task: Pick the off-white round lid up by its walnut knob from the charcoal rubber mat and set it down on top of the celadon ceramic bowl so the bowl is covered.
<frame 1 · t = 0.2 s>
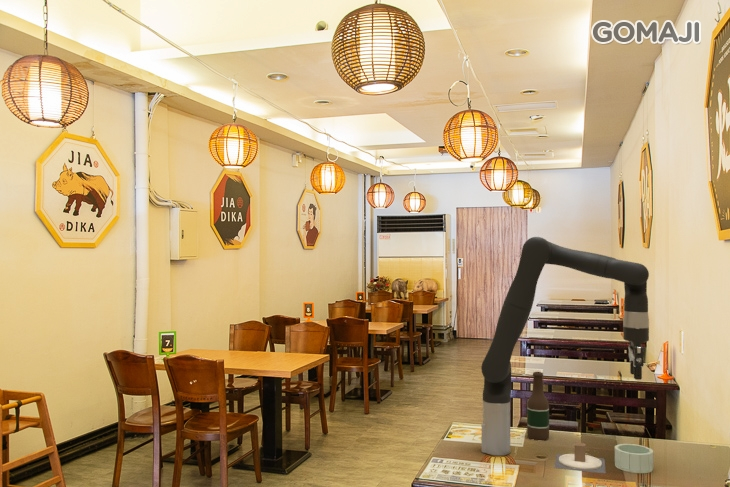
hand: (635, 376, 200), 28 cm above the table, fingers open, 8 cm apart
mat: (579, 464, 201), on the table
beer bottle: (538, 438, 231), on the table
lid: (579, 463, 201), resting on mat
bowl: (633, 468, 198), on the table
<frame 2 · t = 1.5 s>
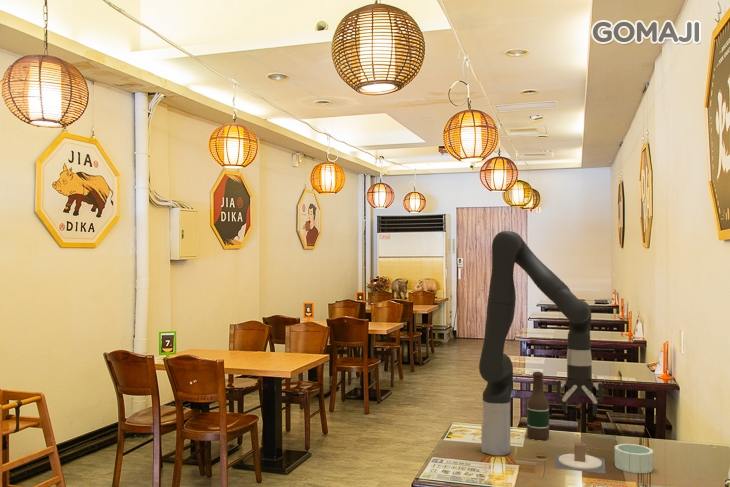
hand: (579, 413, 201), 16 cm above the table, fingers open, 8 cm apart
nothing on the table moved.
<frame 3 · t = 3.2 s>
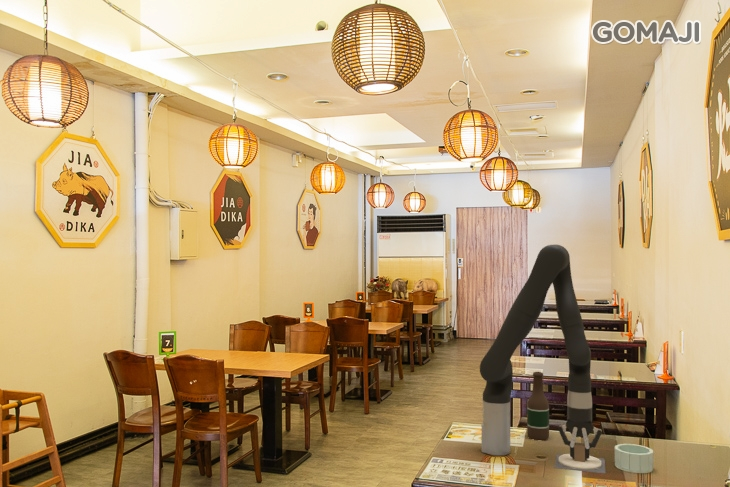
hand: (579, 458, 201), 2 cm above the table, fingers closed on lid, 3 cm apart
lid: (579, 463, 201), resting on mat, touching gripper
everything else where it was.
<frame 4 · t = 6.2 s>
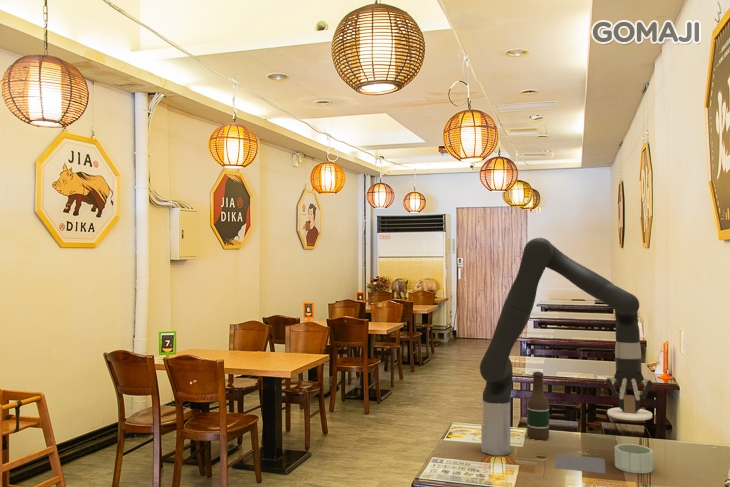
hand: (629, 410, 198), 18 cm above the table, fingers closed on lid, 3 cm apart
lid: (629, 415, 198), point 17 cm above the table, touching gripper
everything else where it was.
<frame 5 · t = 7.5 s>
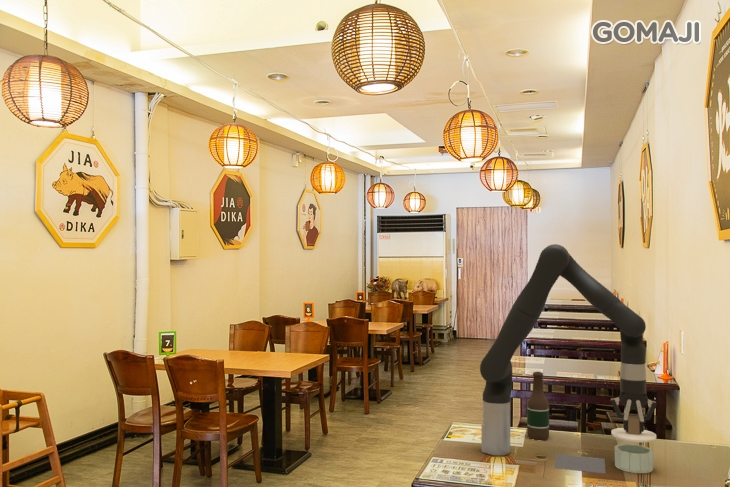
hand: (633, 432, 198), 11 cm above the table, fingers closed on lid, 3 cm apart
lid: (633, 436, 198), point 10 cm above the table, touching gripper
everything else where it was.
when the fingers open (8 cm above the table, at t = 8.8 s): lid stays where it is, resting on bowl.
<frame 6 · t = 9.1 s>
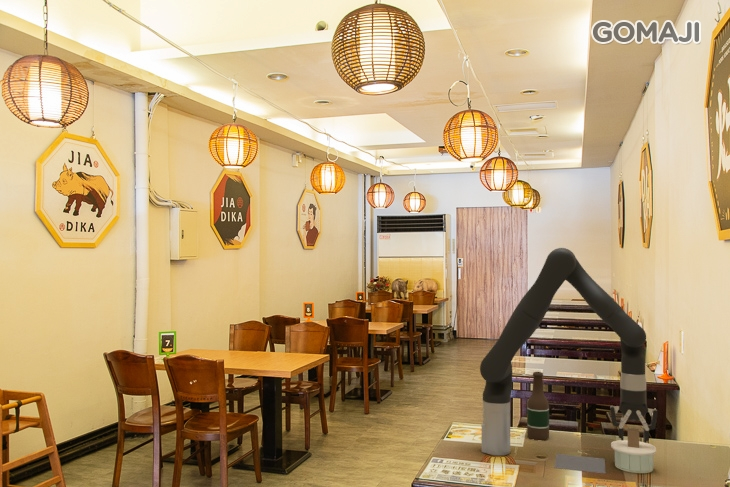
hand: (633, 440, 198), 9 cm above the table, fingers open, 6 cm apart
lid: (633, 449, 198), point 6 cm above the table, touching bowl
everything else where it was.
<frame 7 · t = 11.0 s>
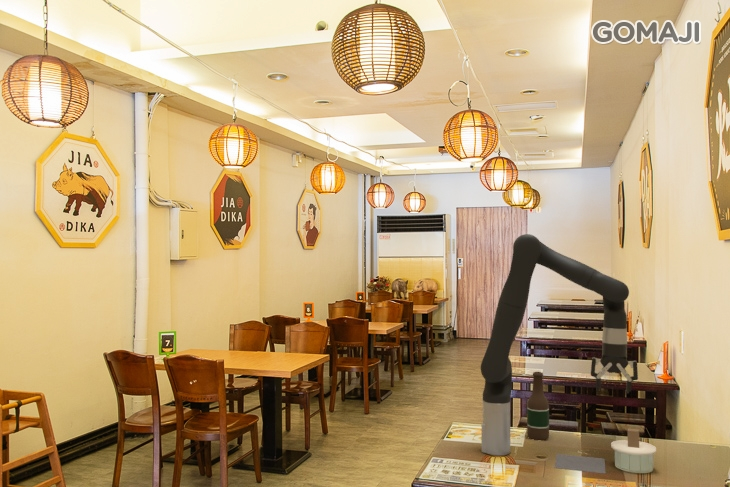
hand: (613, 391, 205), 23 cm above the table, fingers open, 8 cm apart
nothing on the table moved.
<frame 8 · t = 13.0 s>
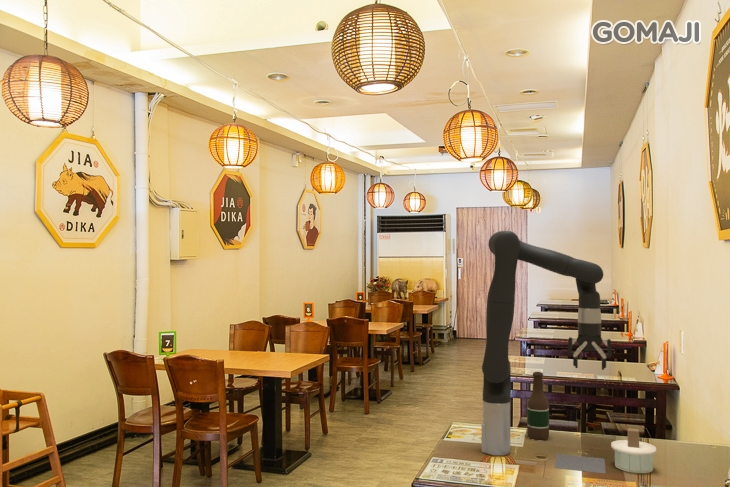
hand: (589, 368, 216), 28 cm above the table, fingers open, 8 cm apart
nothing on the table moved.
at the end: lid 0.1 cm off-centre on the bowl, point 6.0 cm above the bowl's base; lid tilted 0°; the gripper is holding nothing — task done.
